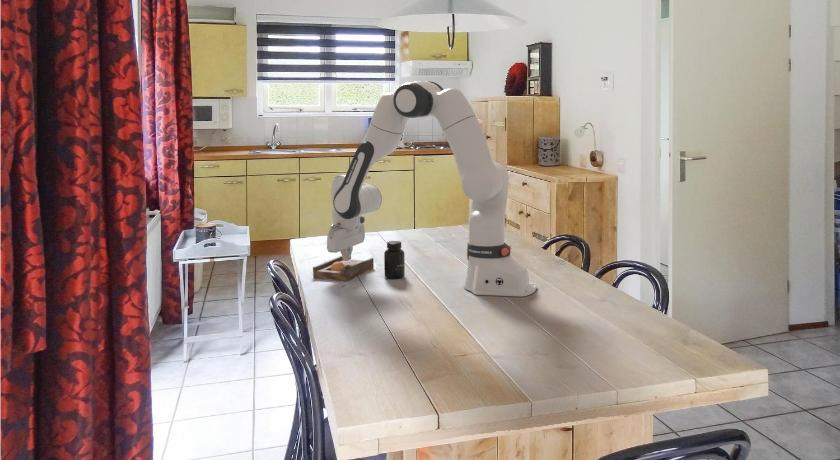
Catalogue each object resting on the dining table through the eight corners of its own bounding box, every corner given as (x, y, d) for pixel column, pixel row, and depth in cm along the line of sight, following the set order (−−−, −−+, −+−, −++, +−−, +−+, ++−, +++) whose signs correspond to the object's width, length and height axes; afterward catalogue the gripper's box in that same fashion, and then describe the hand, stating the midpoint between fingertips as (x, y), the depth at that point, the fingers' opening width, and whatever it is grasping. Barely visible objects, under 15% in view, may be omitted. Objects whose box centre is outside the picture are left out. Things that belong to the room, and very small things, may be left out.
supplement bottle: (402, 279, 222) (401, 244, 219) (382, 279, 223) (381, 243, 221) (406, 274, 228) (406, 240, 226) (387, 274, 230) (386, 239, 227)
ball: (339, 273, 225) (344, 279, 229) (344, 260, 227) (349, 266, 231) (326, 271, 226) (332, 277, 231) (331, 258, 228) (336, 264, 233)
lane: (373, 268, 238) (373, 258, 238) (346, 281, 221) (346, 270, 221) (341, 265, 243) (341, 255, 243) (313, 277, 226) (312, 267, 226)
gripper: (337, 226, 220) (339, 267, 223) (367, 216, 239) (368, 254, 241) (321, 225, 223) (323, 266, 225) (352, 216, 241) (353, 253, 244)
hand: (346, 260), depth 234 cm, fingers closed
